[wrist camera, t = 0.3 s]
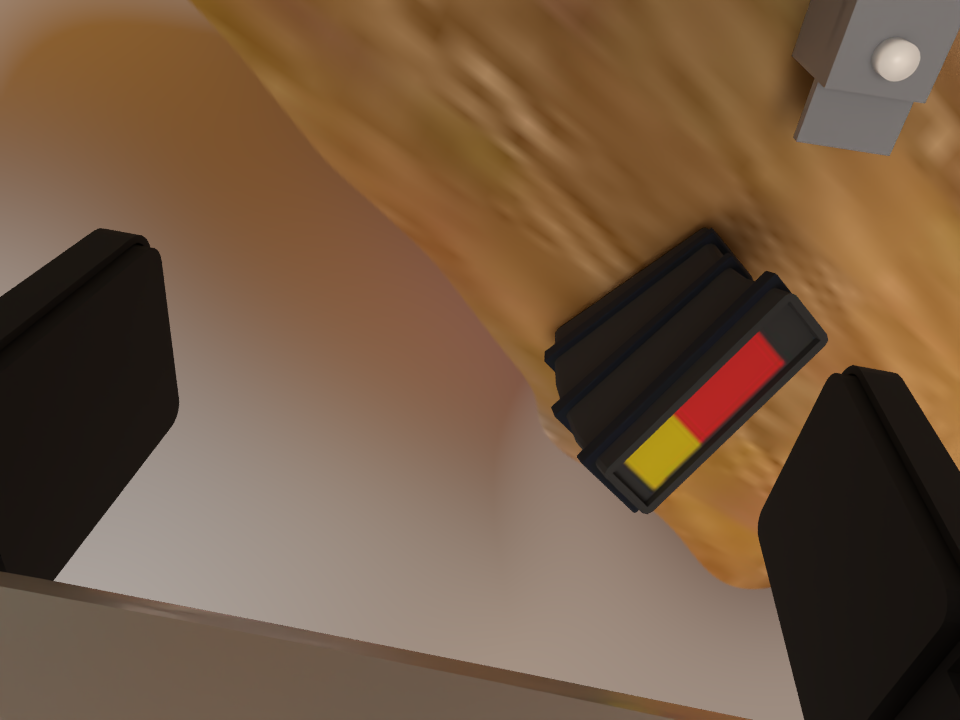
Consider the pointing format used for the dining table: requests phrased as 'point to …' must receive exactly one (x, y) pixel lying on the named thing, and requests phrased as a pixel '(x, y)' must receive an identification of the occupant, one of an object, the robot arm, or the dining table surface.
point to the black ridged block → (675, 366)
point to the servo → (870, 67)
